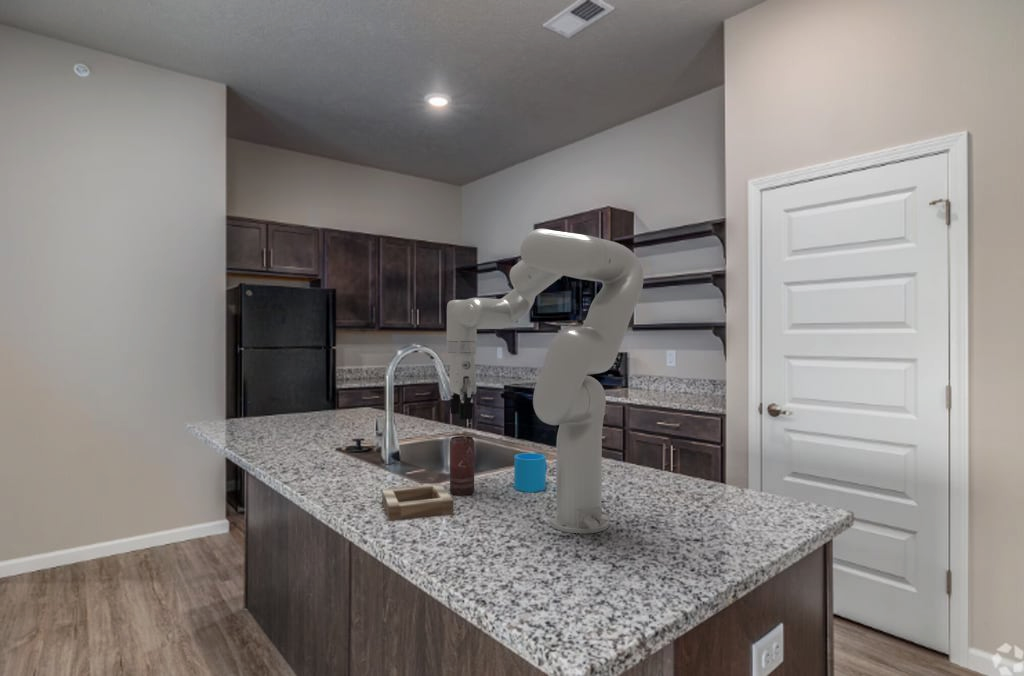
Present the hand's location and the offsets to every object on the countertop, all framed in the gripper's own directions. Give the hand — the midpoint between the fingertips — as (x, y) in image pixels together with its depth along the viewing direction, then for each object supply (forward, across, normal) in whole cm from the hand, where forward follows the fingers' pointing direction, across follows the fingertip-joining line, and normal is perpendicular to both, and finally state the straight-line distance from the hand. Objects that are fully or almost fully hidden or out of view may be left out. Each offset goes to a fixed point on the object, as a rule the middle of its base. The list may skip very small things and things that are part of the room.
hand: (461, 416), depth 139 cm
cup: (+20, 0, 0) cm, 20 cm away
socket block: (+19, -9, +13) cm, 25 cm away
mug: (+20, 0, -20) cm, 28 cm away
